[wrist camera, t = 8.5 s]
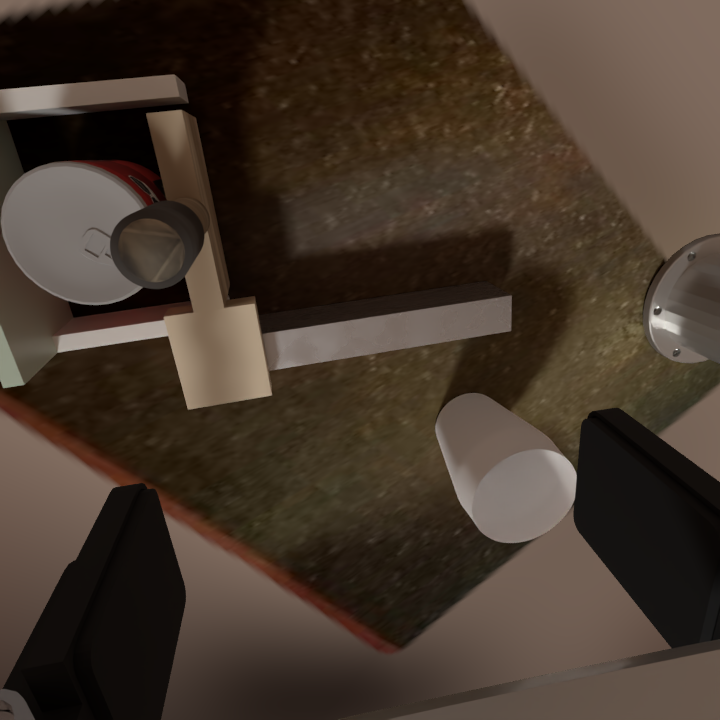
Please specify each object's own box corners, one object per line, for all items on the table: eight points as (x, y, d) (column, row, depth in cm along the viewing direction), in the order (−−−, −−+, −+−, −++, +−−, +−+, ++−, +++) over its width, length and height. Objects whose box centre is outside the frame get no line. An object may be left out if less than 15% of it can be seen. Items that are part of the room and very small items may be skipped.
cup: (483, 362, 48) (550, 424, 37) (525, 426, 51) (596, 500, 40) (405, 418, 48) (448, 495, 37) (452, 477, 52) (503, 563, 41)
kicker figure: (224, 115, 36) (192, 79, 19) (270, 360, 43) (276, 492, 26) (136, 123, 35) (21, 95, 18) (198, 372, 42) (157, 515, 26)
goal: (184, 83, 35) (158, 58, 26) (231, 309, 41) (223, 353, 32) (-20, 102, 33) (-125, 82, 24) (62, 334, 40) (3, 388, 31)
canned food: (174, 279, 40) (144, 322, 30) (63, 248, 38) (-10, 283, 27) (196, 182, 37) (172, 192, 27) (79, 142, 35) (6, 138, 25)
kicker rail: (486, 281, 45) (511, 295, 40) (486, 313, 46) (511, 331, 41) (233, 318, 42) (230, 338, 37) (240, 352, 43) (238, 375, 38)
